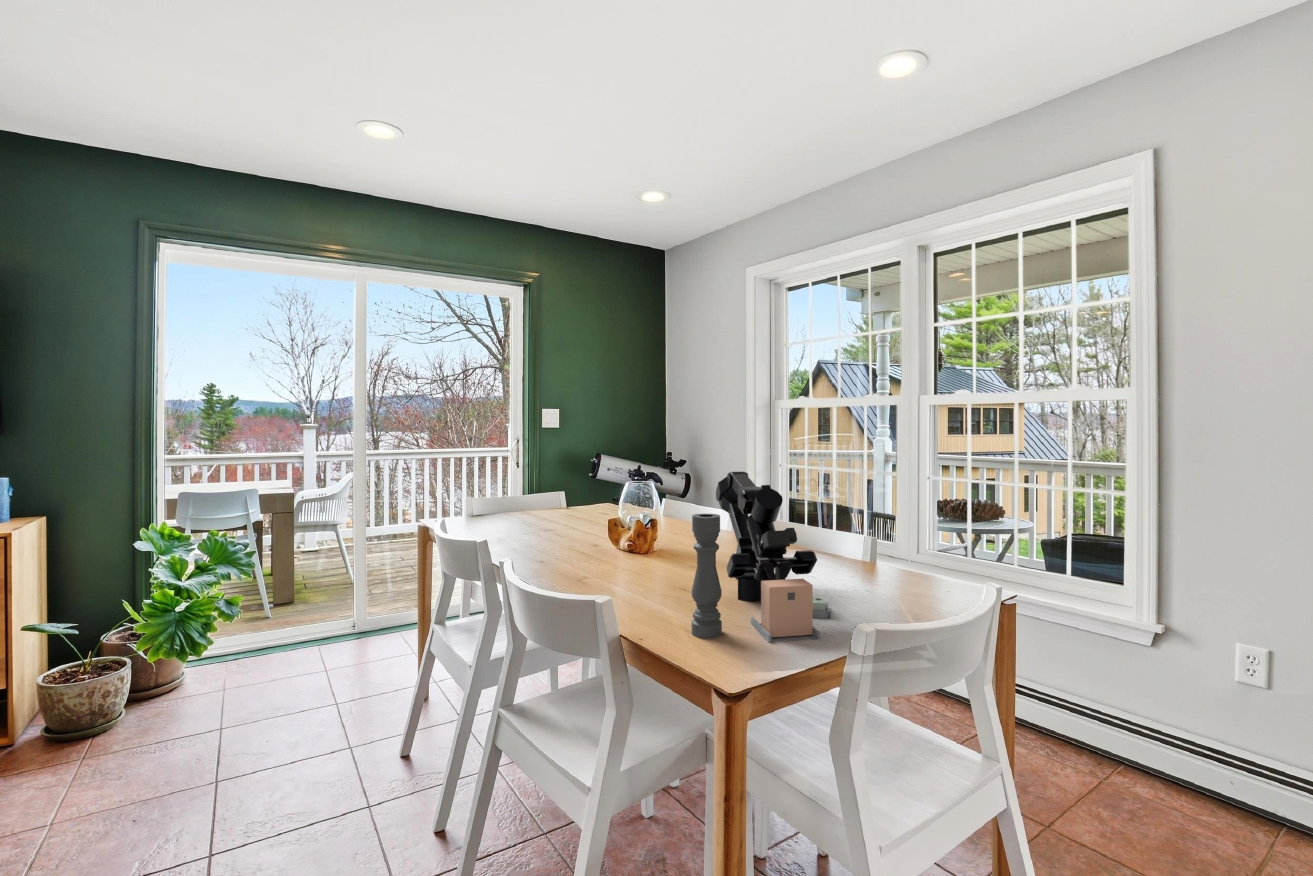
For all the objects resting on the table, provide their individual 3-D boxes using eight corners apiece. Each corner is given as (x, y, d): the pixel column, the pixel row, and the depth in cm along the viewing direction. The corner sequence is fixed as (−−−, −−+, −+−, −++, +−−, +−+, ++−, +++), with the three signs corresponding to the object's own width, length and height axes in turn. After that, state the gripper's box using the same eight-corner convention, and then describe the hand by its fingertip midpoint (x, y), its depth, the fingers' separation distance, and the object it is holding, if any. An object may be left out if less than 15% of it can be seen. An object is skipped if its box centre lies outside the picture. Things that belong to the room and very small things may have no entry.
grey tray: (751, 628, 135) (751, 617, 135) (798, 625, 137) (798, 614, 137) (768, 647, 124) (768, 634, 124) (820, 643, 126) (820, 631, 126)
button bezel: (795, 621, 139) (795, 611, 139) (794, 610, 147) (794, 600, 147) (833, 623, 138) (833, 612, 138) (830, 612, 146) (830, 602, 146)
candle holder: (703, 630, 134) (702, 512, 133) (728, 637, 130) (727, 515, 129) (685, 639, 130) (684, 516, 129) (710, 645, 126) (710, 519, 125)
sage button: (801, 611, 141) (801, 601, 140) (800, 604, 146) (800, 595, 146) (826, 612, 140) (826, 602, 139) (824, 605, 145) (824, 596, 145)
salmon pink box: (761, 629, 131) (761, 580, 131) (802, 626, 133) (802, 578, 132) (769, 637, 126) (769, 587, 126) (812, 634, 128) (813, 585, 127)
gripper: (730, 516, 135) (746, 581, 125) (813, 513, 138) (836, 576, 128) (720, 545, 143) (734, 609, 133) (799, 542, 146) (819, 604, 136)
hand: (781, 599), depth 132 cm, fingers closed, pressing on salmon pink box
